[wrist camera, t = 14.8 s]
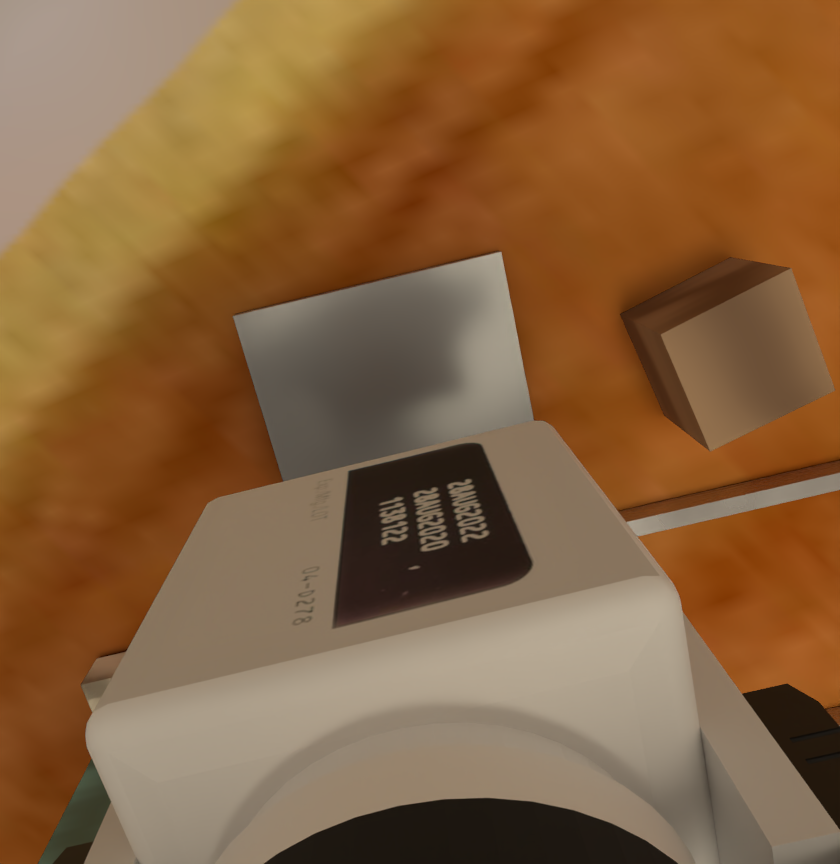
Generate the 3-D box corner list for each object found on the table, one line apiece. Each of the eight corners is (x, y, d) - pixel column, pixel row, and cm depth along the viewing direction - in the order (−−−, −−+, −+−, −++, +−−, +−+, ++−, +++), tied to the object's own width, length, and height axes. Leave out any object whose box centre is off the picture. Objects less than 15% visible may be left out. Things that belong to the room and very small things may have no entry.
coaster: (307, 552, 35) (306, 558, 34) (235, 314, 31) (232, 316, 31) (546, 496, 34) (549, 501, 34) (498, 250, 31) (501, 251, 31)
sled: (176, 851, 39) (119, 1037, 30) (96, 658, 36) (5, 806, 27) (627, 750, 38) (698, 910, 30) (590, 544, 35) (658, 658, 26)
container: (201, 496, 17) (-299, 1355, 4) (549, 411, 17) (1062, 1049, 4) (300, 778, 19) (159, 1872, 7) (606, 706, 19) (1046, 1683, 6)
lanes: (265, 848, 39) (262, 868, 38) (178, 613, 35) (171, 627, 34) (879, 710, 39) (894, 726, 38) (864, 454, 35) (880, 463, 33)
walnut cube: (663, 415, 34) (710, 451, 29) (619, 313, 32) (660, 334, 28) (770, 362, 33) (835, 390, 28) (729, 257, 32) (791, 268, 27)
